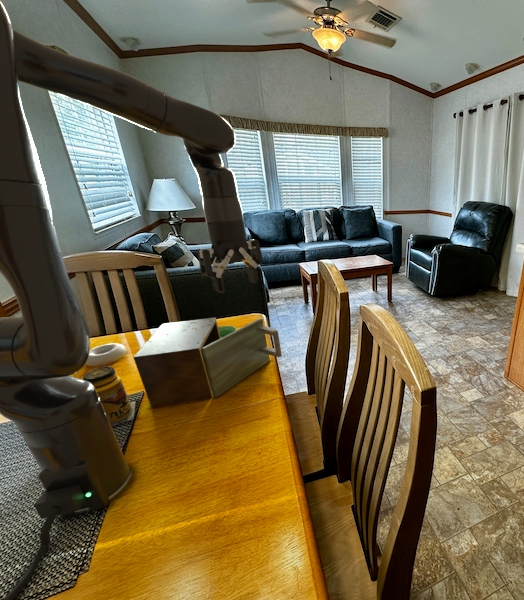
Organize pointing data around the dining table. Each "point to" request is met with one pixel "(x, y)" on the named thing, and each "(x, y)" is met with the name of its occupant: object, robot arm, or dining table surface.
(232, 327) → the ramekin
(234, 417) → the dining table surface
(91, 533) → the dining table surface
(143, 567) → the dining table surface
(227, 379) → the door
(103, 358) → the donut
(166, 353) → the cupboard
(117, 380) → the condiment
